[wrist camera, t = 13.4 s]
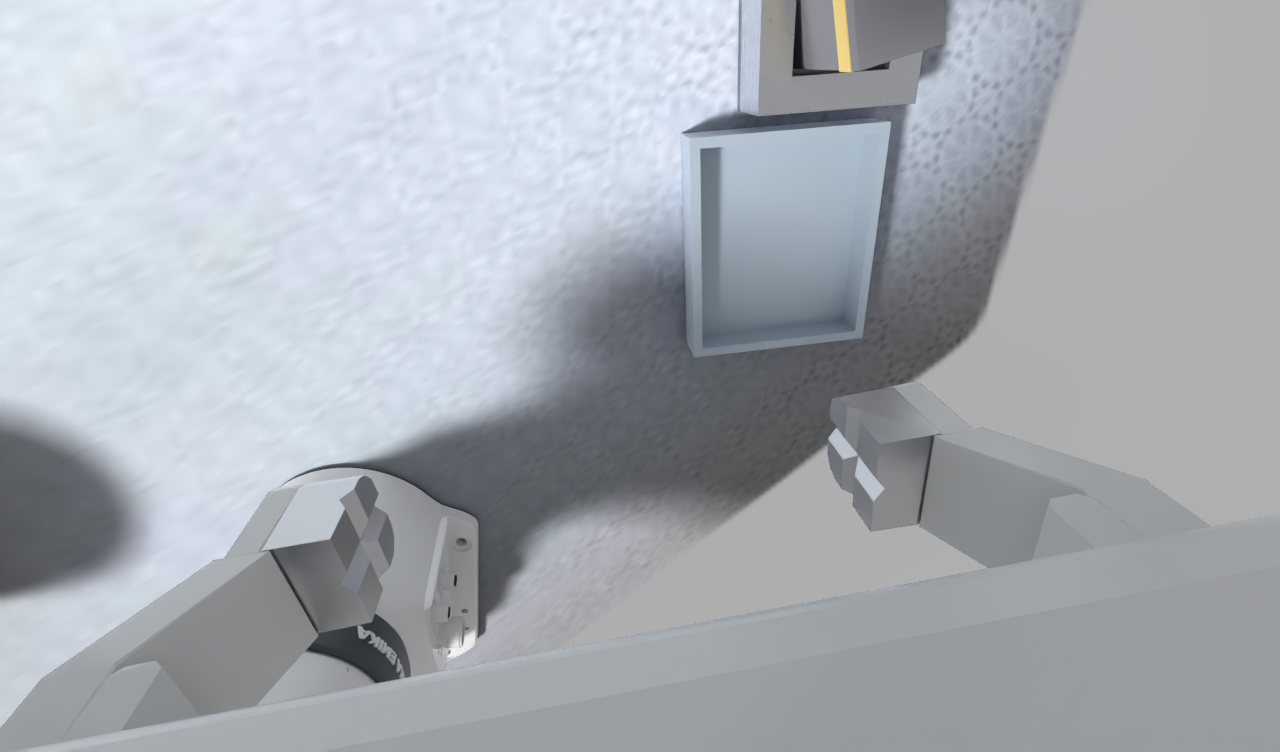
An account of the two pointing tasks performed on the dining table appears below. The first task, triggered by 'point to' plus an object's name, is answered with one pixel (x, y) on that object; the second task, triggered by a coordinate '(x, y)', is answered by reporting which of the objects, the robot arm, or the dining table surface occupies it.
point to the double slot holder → (807, 70)
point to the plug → (864, 32)
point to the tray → (780, 233)
